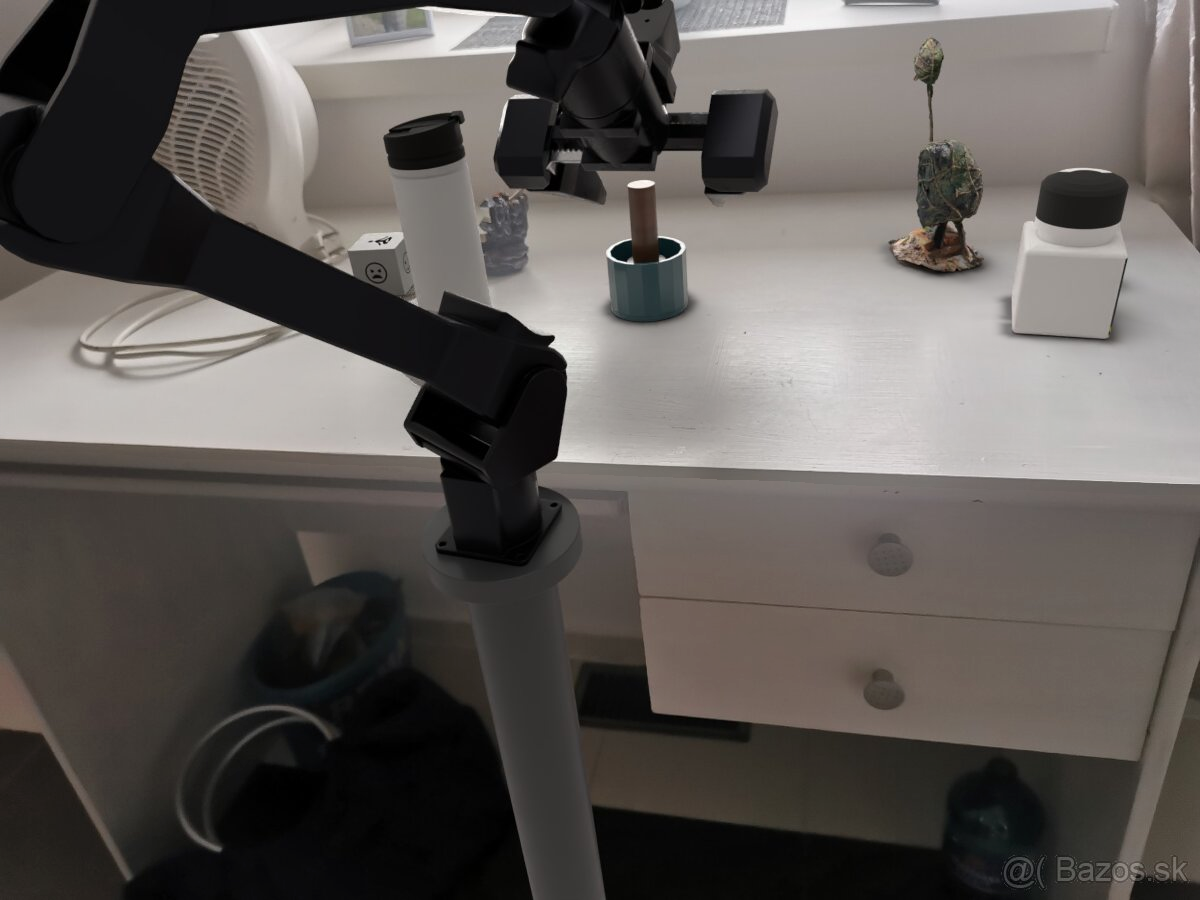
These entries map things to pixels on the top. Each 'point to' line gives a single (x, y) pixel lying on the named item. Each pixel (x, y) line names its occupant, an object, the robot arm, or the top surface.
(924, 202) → the plant with pod
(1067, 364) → the top surface
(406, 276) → the dice cube
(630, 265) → the beaker
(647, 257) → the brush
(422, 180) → the travel mug
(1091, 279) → the medicine bottle
